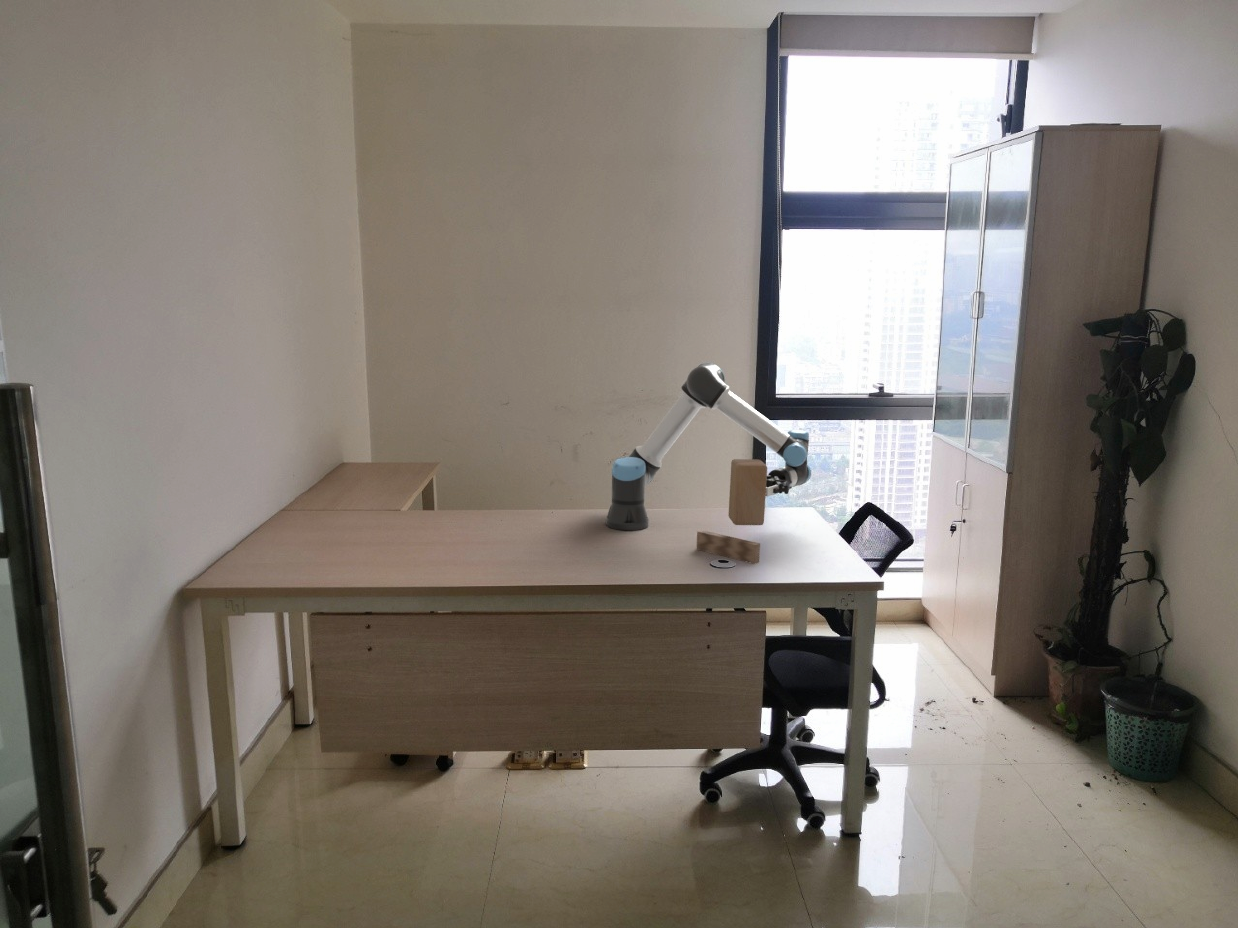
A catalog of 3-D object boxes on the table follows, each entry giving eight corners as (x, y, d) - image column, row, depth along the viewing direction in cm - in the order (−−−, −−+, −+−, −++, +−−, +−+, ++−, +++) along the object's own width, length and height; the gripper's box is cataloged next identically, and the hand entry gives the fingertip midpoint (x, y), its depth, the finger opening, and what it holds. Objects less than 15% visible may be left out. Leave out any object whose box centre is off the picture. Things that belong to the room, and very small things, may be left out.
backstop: (696, 549, 290) (697, 531, 289) (700, 547, 292) (701, 529, 291) (754, 563, 277) (755, 545, 275) (759, 562, 278) (760, 543, 277)
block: (764, 526, 287) (768, 465, 283) (733, 525, 286) (737, 465, 282) (757, 517, 297) (761, 458, 293) (727, 517, 296) (730, 458, 292)
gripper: (813, 495, 300) (781, 506, 283) (749, 484, 315) (716, 493, 299) (815, 473, 298) (783, 483, 282) (751, 463, 313) (717, 471, 297)
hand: (748, 488), depth 290 cm, fingers closed on block, 13 cm apart
